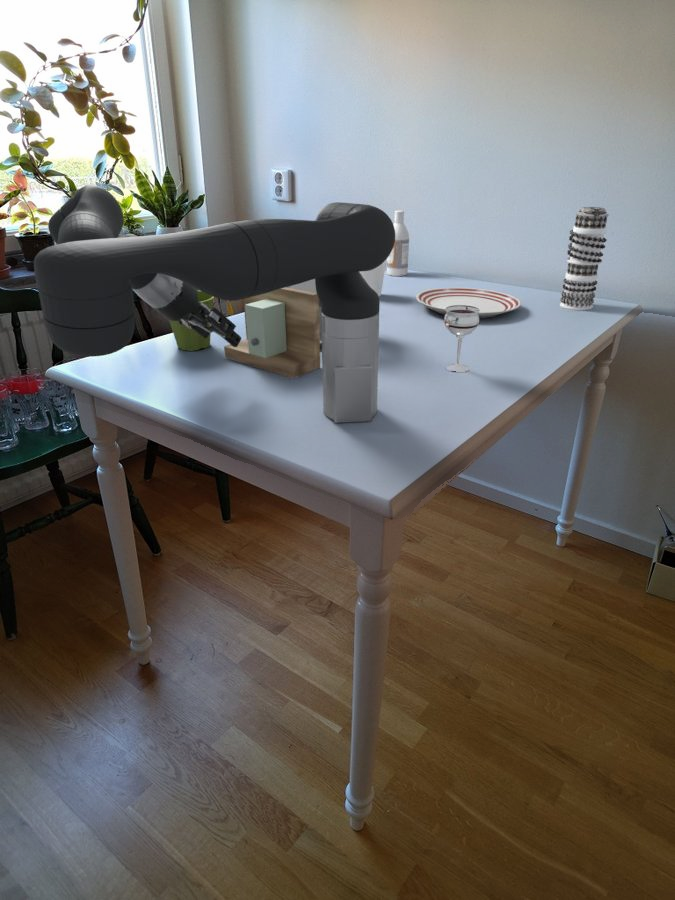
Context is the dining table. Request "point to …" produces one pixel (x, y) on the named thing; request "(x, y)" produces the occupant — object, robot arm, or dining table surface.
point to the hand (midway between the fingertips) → (222, 338)
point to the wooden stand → (287, 335)
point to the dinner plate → (469, 300)
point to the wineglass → (461, 327)
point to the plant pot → (188, 336)
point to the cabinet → (266, 327)
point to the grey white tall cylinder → (584, 258)
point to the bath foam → (399, 248)
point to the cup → (375, 277)
